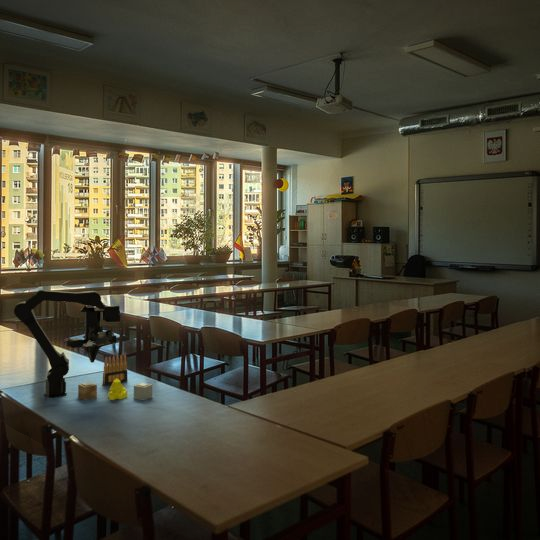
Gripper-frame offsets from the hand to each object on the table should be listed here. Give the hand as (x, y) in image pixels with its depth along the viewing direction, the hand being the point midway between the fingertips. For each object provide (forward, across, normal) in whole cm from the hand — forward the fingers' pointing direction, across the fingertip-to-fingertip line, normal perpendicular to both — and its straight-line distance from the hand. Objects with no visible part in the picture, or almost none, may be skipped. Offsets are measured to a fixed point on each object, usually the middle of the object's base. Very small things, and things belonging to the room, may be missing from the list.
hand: (92, 362), depth 208 cm
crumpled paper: (+12, +4, -12) cm, 18 cm away
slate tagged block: (+12, +11, -19) cm, 25 cm away
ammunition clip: (+12, +14, +6) cm, 20 cm away
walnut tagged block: (+12, -4, -5) cm, 14 cm away
